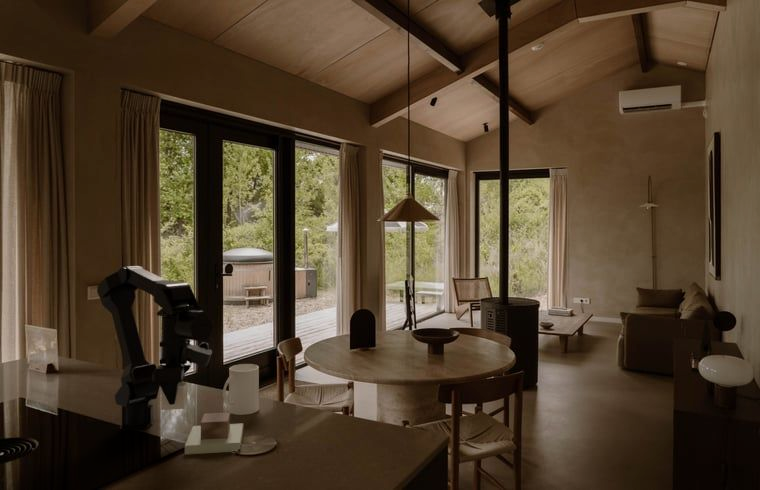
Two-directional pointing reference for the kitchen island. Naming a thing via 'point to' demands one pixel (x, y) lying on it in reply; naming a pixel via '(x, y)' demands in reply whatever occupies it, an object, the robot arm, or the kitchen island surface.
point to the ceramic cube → (180, 398)
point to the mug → (243, 389)
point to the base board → (214, 441)
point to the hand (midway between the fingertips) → (174, 400)
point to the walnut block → (215, 425)
